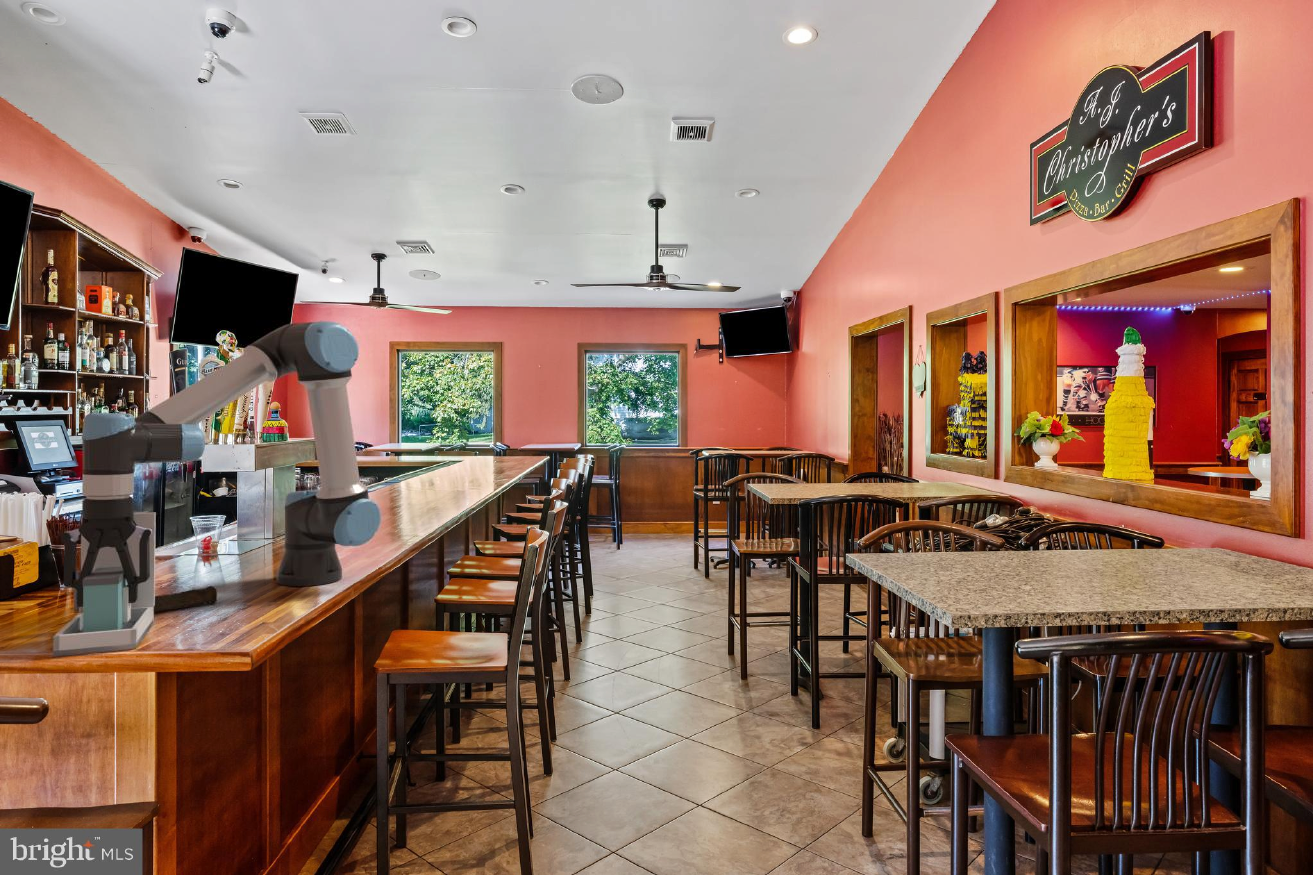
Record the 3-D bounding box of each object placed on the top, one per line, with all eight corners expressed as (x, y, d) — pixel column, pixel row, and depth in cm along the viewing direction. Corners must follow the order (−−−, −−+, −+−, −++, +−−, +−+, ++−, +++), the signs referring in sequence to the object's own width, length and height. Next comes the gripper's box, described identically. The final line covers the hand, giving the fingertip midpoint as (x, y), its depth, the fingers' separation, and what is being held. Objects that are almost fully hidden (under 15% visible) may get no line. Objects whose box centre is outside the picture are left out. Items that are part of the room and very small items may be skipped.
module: (130, 617, 137) (131, 566, 137) (118, 632, 128) (118, 577, 128) (97, 620, 135) (97, 567, 135) (82, 635, 126) (82, 579, 126)
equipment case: (154, 622, 142) (155, 512, 142) (136, 648, 127) (137, 525, 126) (76, 628, 137) (76, 514, 136) (46, 657, 121) (47, 528, 121)
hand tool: (210, 602, 159) (210, 581, 159) (218, 605, 157) (218, 584, 157) (107, 619, 144) (107, 597, 144) (114, 623, 142) (113, 600, 142)
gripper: (170, 493, 138) (169, 612, 139) (52, 495, 130) (51, 621, 131) (163, 497, 132) (162, 622, 132) (38, 500, 124) (38, 633, 124)
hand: (107, 621), depth 132 cm, fingers closed on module, 5 cm apart
